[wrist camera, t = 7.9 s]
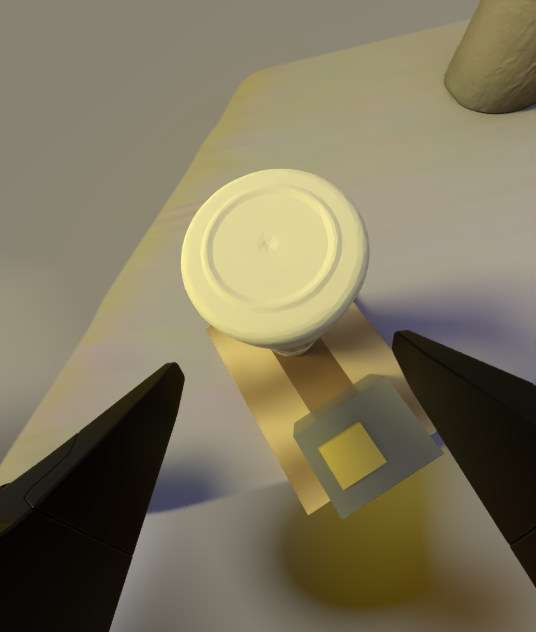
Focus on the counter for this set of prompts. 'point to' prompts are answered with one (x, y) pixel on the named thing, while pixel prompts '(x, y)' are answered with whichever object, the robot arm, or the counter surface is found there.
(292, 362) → the plywood board
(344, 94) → the counter surface
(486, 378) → the robot arm
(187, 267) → the sprinkles bottle
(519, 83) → the pillar candle
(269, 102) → the counter surface
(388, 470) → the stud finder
